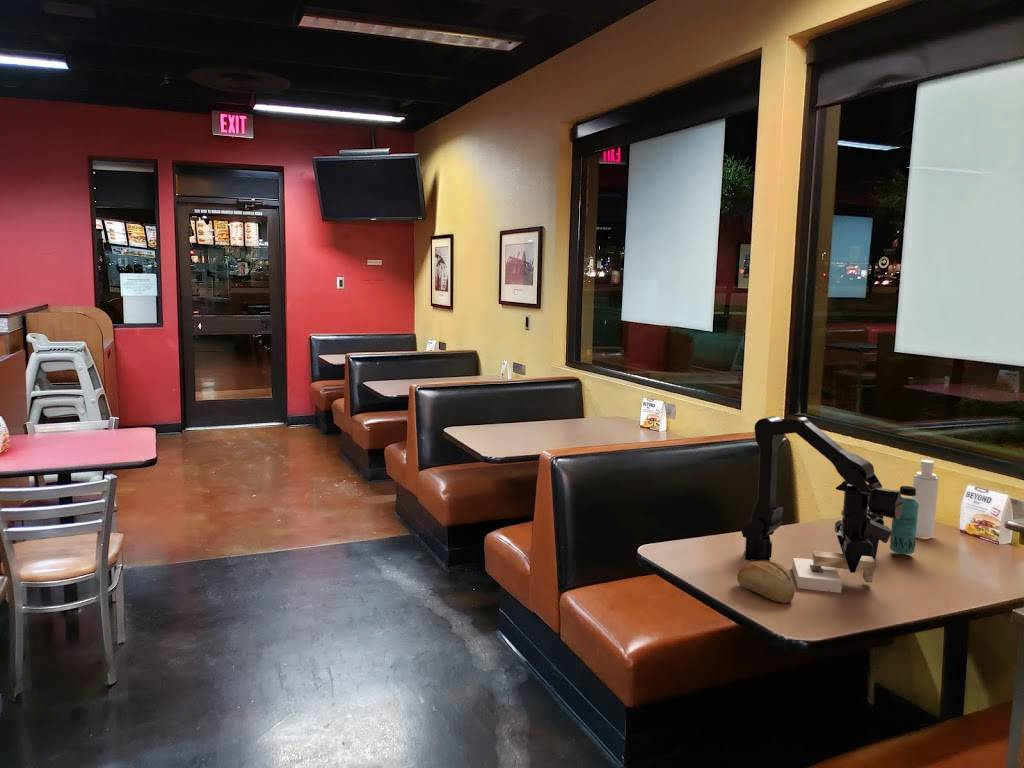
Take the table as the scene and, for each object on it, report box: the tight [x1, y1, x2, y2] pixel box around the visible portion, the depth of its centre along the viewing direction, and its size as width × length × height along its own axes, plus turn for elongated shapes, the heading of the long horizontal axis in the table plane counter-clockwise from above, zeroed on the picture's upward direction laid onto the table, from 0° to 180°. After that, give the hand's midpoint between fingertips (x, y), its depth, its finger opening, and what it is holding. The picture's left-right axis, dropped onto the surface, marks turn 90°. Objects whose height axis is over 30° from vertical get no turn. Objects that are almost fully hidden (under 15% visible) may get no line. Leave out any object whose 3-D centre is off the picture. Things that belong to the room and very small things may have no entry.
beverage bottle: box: [889, 485, 919, 555], centre depth 213 cm, size 6×7×20 cm
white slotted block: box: [791, 557, 843, 594], centre depth 195 cm, size 10×14×3 cm
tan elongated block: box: [812, 550, 876, 584], centre depth 193 cm, size 14×4×6 cm, turn 75°
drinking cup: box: [862, 507, 884, 560], centre depth 212 cm, size 8×8×20 cm
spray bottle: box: [911, 459, 940, 538], centre depth 231 cm, size 7×7×25 cm
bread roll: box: [736, 560, 796, 604], centre depth 186 cm, size 10×15×8 cm, turn 38°
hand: (850, 569), depth 193 cm, fingers closed on tan elongated block, 4 cm apart
